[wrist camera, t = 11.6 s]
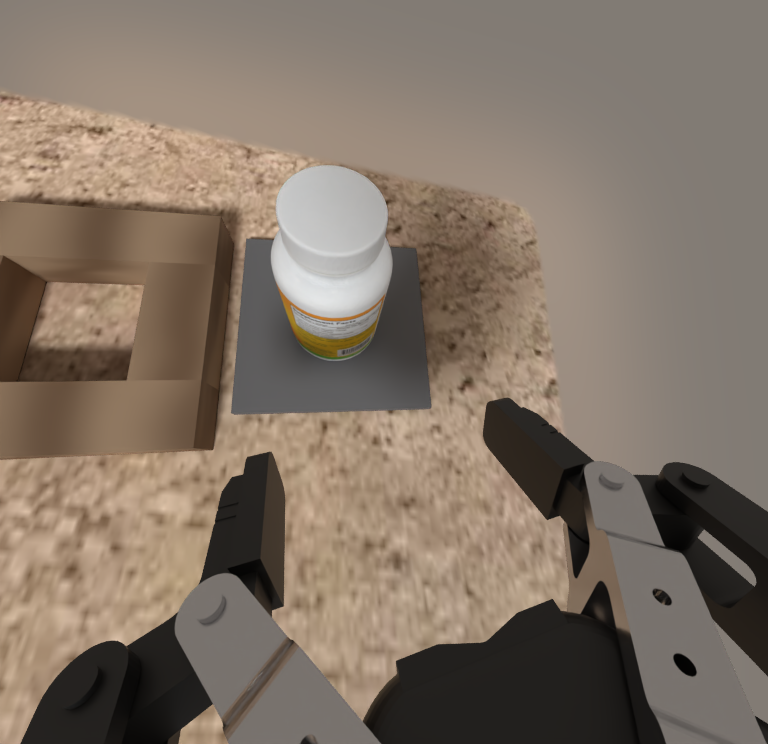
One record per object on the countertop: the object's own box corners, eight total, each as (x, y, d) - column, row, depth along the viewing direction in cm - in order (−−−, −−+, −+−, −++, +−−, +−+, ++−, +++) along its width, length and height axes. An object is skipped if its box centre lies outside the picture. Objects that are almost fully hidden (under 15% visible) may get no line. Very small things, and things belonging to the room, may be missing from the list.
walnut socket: (-90, 463, 15) (-170, 464, 13) (-5, 230, 19) (-54, 197, 16) (212, 450, 17) (193, 448, 15) (233, 243, 21) (220, 216, 19)
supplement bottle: (309, 277, 21) (288, 128, 11) (384, 303, 21) (423, 178, 12) (279, 347, 19) (224, 239, 10) (361, 374, 19) (384, 294, 10)
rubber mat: (234, 414, 18) (231, 413, 17) (248, 244, 21) (246, 238, 21) (428, 409, 20) (431, 407, 19) (414, 253, 23) (416, 248, 23)
